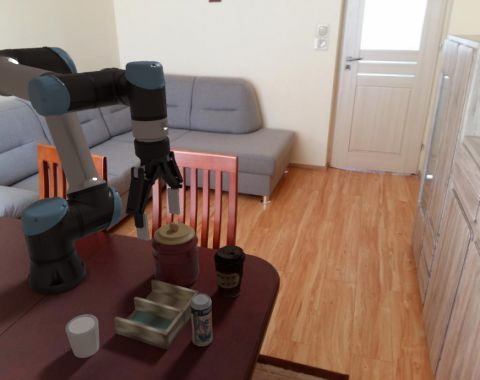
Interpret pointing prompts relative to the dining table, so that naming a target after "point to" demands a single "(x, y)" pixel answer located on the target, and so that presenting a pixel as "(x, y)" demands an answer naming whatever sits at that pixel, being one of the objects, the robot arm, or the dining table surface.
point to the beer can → (201, 319)
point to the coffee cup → (229, 270)
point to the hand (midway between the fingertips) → (160, 225)
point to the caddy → (158, 315)
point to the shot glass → (83, 335)
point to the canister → (176, 254)
